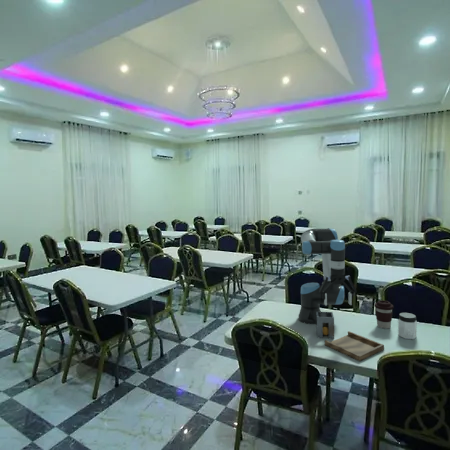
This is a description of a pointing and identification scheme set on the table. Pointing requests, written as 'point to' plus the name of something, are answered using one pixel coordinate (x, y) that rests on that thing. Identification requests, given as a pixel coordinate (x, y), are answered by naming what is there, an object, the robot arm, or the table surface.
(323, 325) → the grey piece
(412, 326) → the jar
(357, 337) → the tray
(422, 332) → the table surface
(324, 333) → the ball
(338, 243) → the robot arm
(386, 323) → the coffee cup
